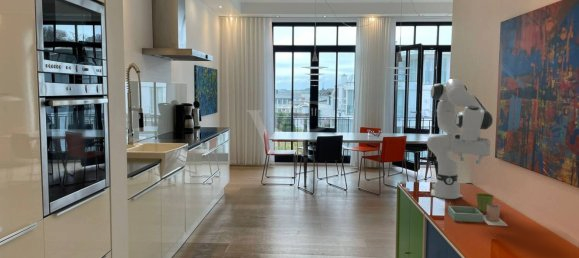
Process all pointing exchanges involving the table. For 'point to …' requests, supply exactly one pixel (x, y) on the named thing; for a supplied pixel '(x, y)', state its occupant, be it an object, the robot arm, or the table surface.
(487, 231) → the table surface
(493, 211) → the seedling pot
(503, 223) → the mat
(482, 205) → the plant pot
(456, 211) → the frame
